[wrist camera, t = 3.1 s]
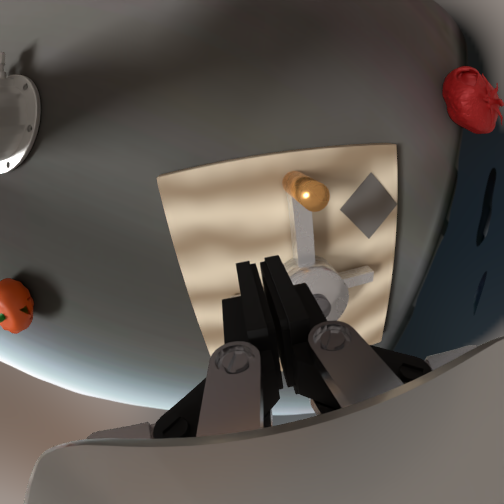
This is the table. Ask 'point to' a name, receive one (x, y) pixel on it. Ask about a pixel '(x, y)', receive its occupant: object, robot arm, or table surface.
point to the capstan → (304, 259)
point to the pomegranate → (471, 100)
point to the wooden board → (284, 225)
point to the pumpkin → (15, 306)
